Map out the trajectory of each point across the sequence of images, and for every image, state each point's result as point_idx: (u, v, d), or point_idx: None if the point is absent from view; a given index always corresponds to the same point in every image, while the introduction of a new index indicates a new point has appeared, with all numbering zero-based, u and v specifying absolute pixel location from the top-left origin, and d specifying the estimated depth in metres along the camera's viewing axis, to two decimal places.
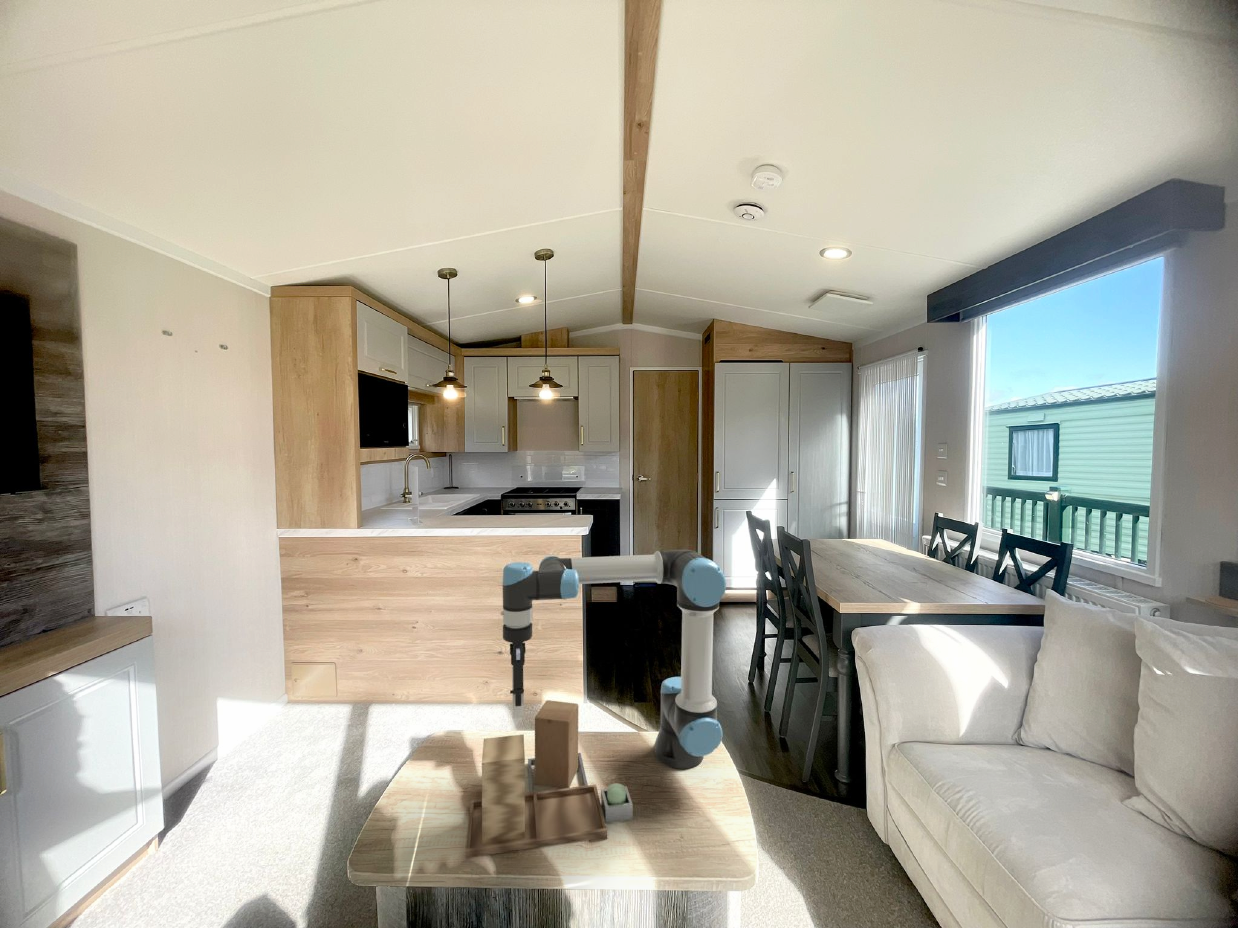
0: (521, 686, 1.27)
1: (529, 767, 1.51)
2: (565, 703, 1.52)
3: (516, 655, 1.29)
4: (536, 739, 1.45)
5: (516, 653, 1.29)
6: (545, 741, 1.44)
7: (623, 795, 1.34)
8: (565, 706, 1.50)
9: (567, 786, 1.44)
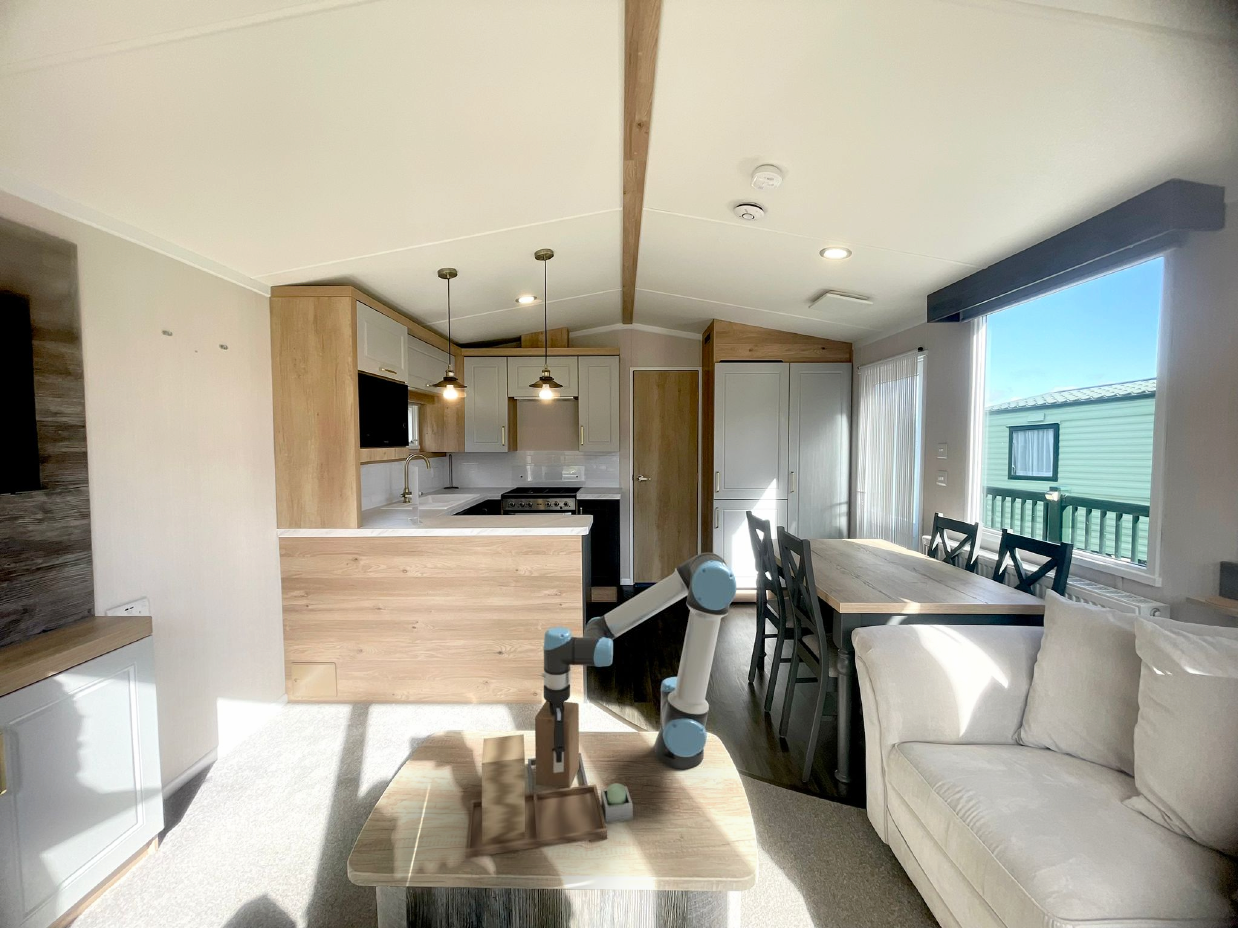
0: (562, 745, 1.40)
1: (529, 767, 1.51)
2: (565, 703, 1.52)
3: (557, 716, 1.41)
4: (537, 739, 1.45)
5: (557, 714, 1.42)
6: (545, 740, 1.44)
7: (623, 795, 1.34)
8: (565, 706, 1.50)
9: (568, 785, 1.44)
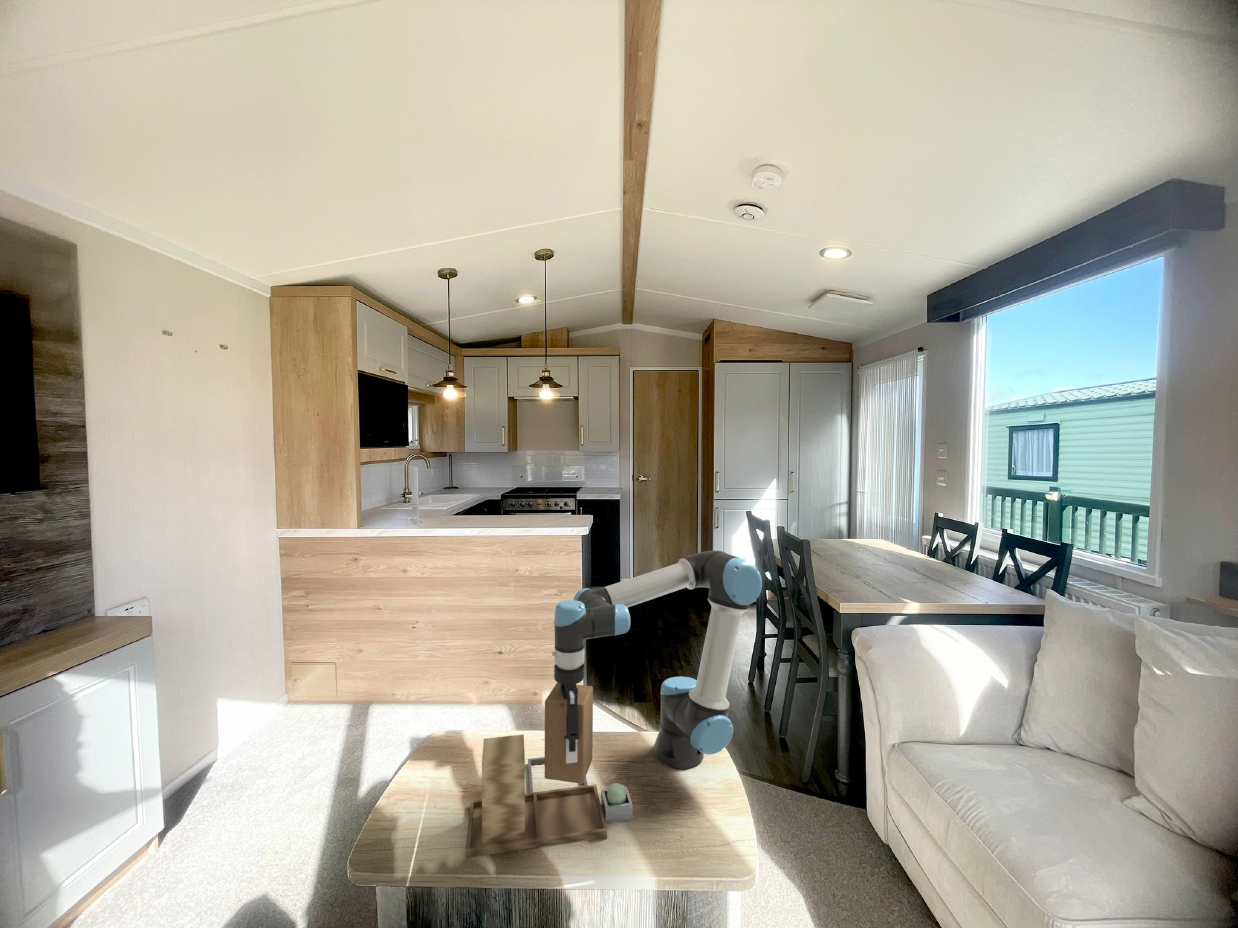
0: (576, 732, 1.23)
1: (529, 767, 1.51)
2: (578, 686, 1.35)
3: (570, 699, 1.25)
4: (546, 725, 1.28)
5: (570, 697, 1.25)
6: (556, 727, 1.27)
7: (623, 795, 1.34)
8: (578, 689, 1.33)
9: (582, 778, 1.27)
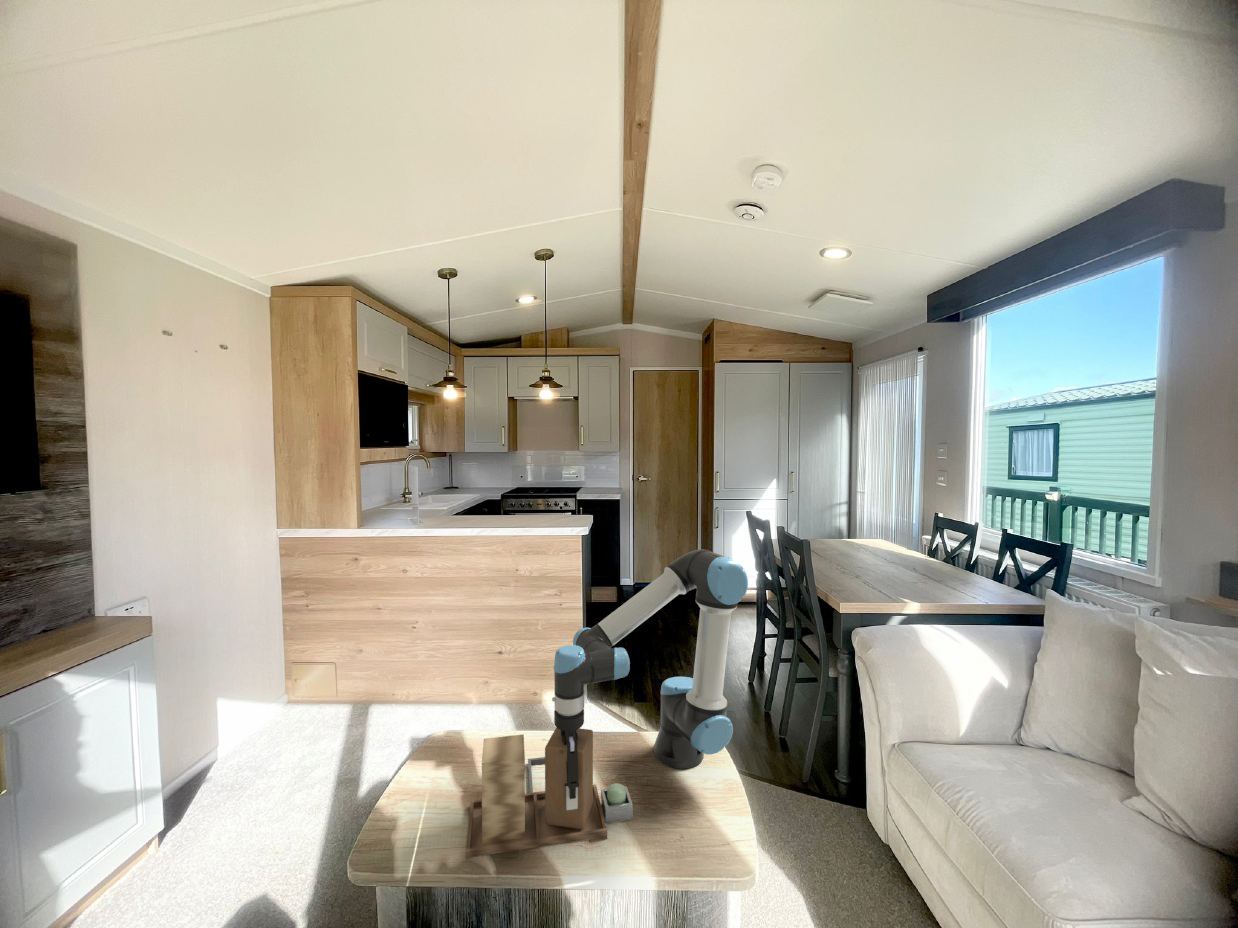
0: (576, 780, 1.24)
1: (529, 767, 1.51)
2: (578, 729, 1.36)
3: (570, 747, 1.26)
4: (547, 772, 1.29)
5: (570, 744, 1.26)
6: (557, 773, 1.28)
7: (623, 795, 1.34)
8: (578, 733, 1.34)
9: (582, 824, 1.28)
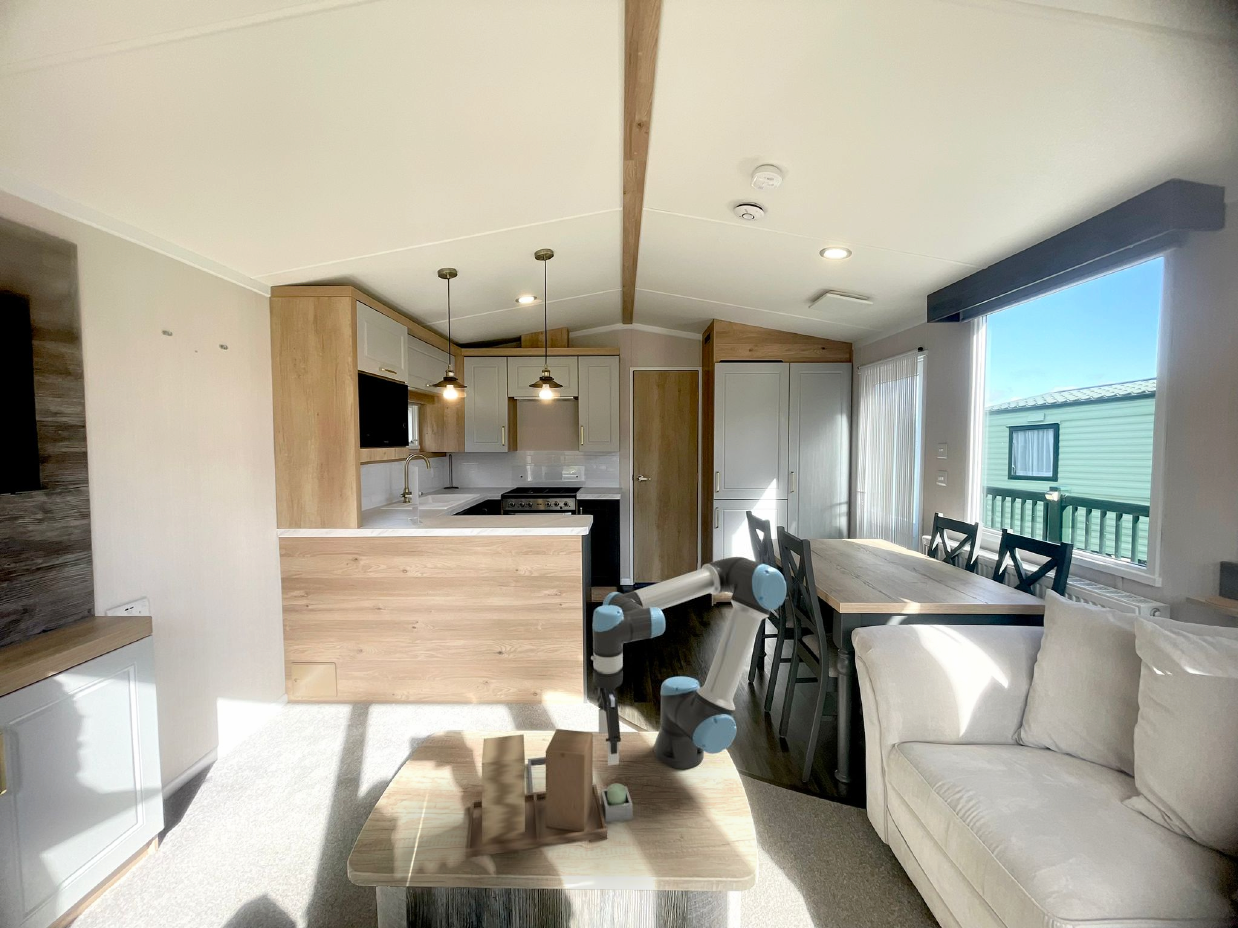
0: (618, 734, 1.25)
1: (529, 767, 1.51)
2: (578, 732, 1.36)
3: (611, 702, 1.27)
4: (547, 775, 1.29)
5: (611, 700, 1.27)
6: (557, 777, 1.28)
7: (623, 795, 1.34)
8: (578, 736, 1.34)
9: (583, 827, 1.28)
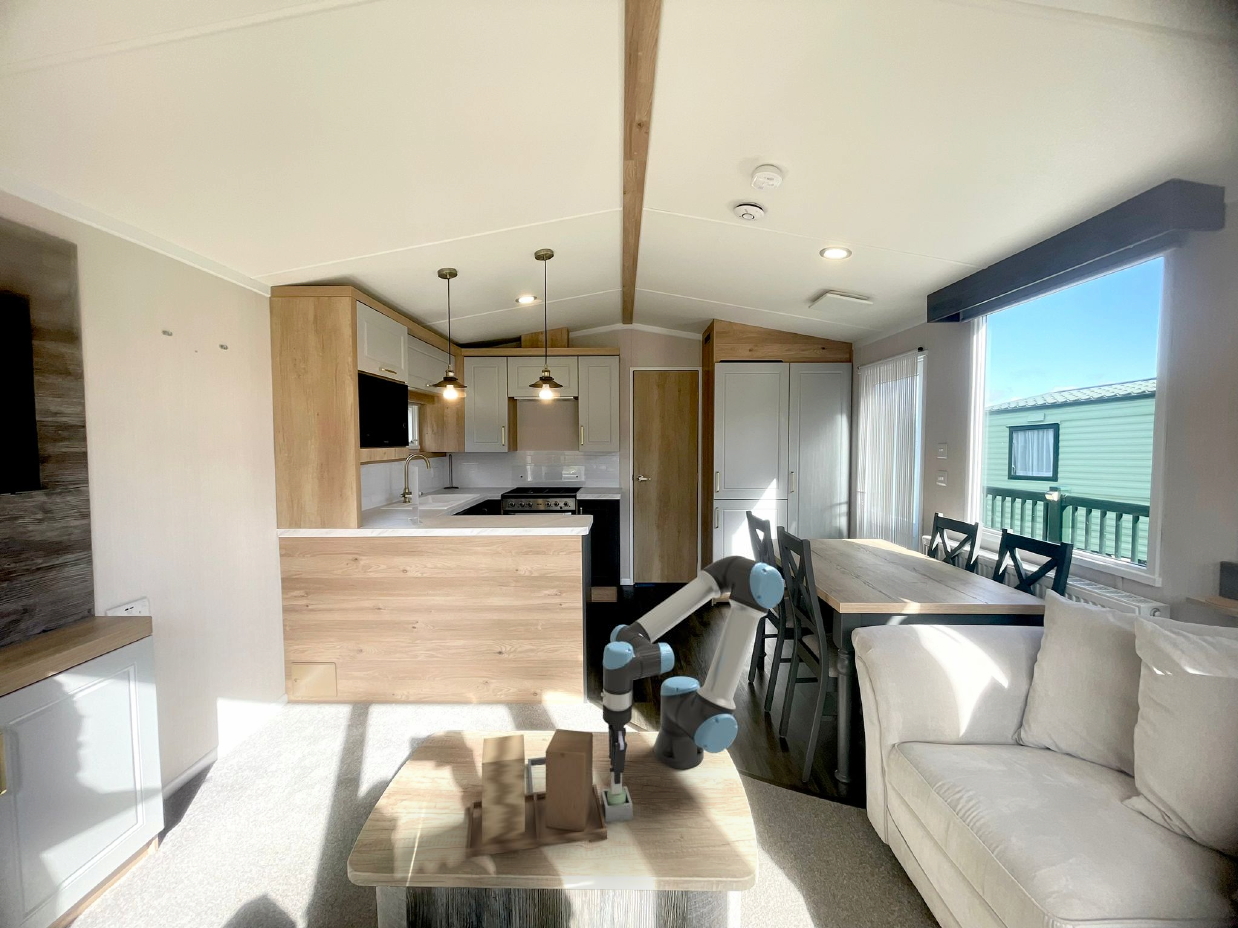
0: (622, 768, 1.32)
1: (529, 767, 1.51)
2: (578, 732, 1.36)
3: (620, 748, 1.29)
4: (547, 775, 1.29)
5: (620, 747, 1.29)
6: (557, 777, 1.28)
7: (623, 799, 1.34)
8: (578, 736, 1.34)
9: (583, 827, 1.28)
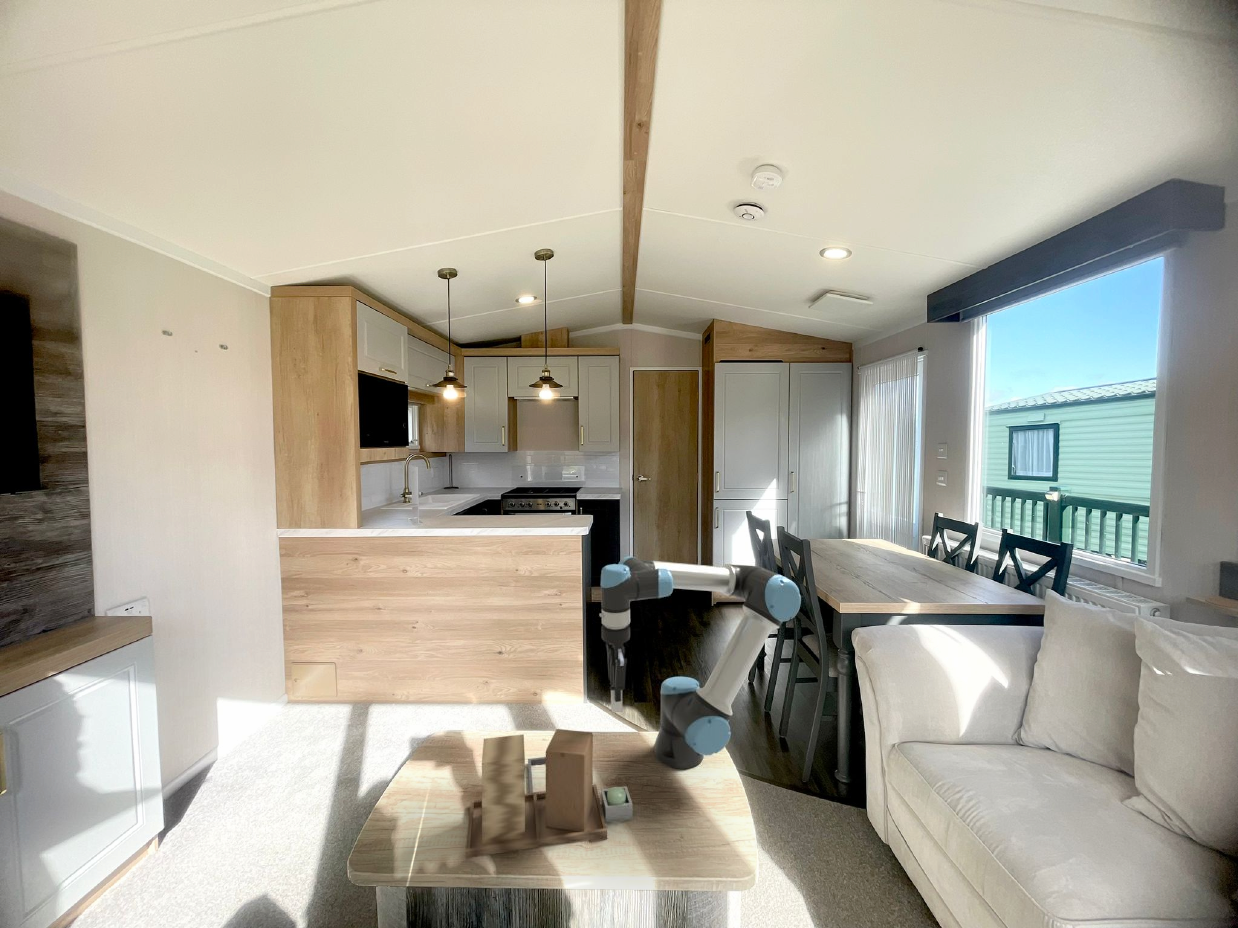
0: (622, 685, 1.35)
1: (529, 767, 1.51)
2: (578, 732, 1.36)
3: (620, 664, 1.32)
4: (547, 775, 1.29)
5: (620, 662, 1.32)
6: (557, 777, 1.28)
7: (623, 799, 1.34)
8: (578, 736, 1.34)
9: (583, 827, 1.28)
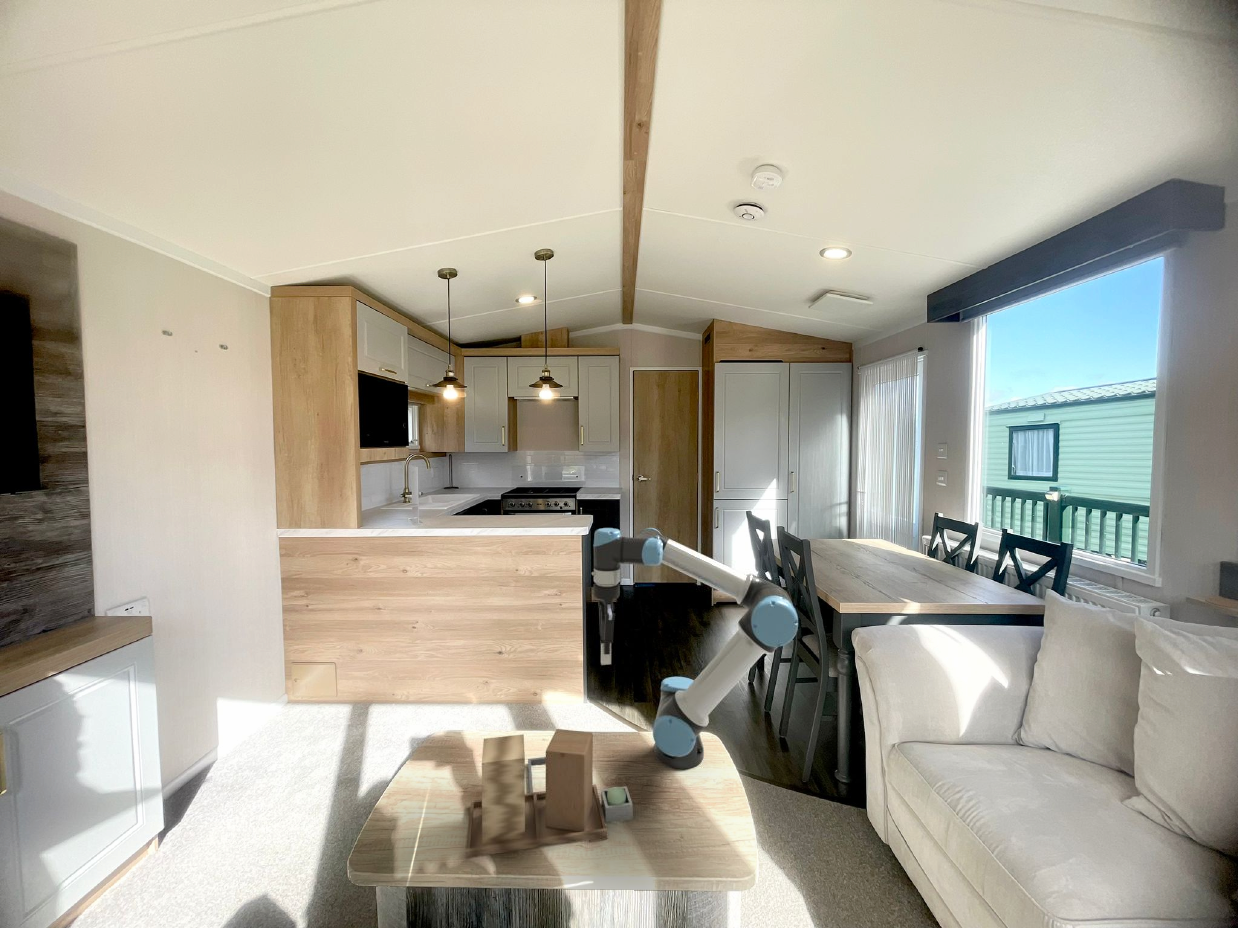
0: (611, 638, 1.46)
1: (529, 767, 1.51)
2: (578, 732, 1.36)
3: (609, 617, 1.44)
4: (547, 775, 1.29)
5: (609, 616, 1.43)
6: (557, 777, 1.28)
7: (623, 799, 1.34)
8: (578, 736, 1.34)
9: (583, 827, 1.28)
